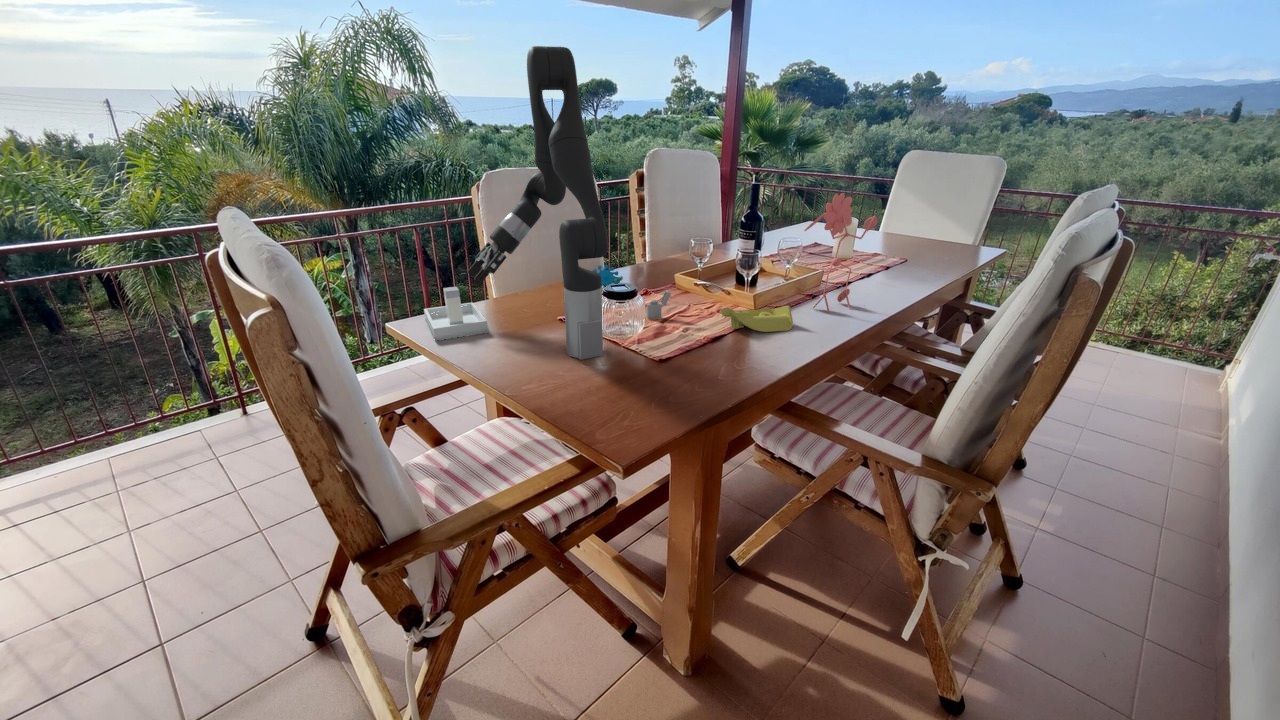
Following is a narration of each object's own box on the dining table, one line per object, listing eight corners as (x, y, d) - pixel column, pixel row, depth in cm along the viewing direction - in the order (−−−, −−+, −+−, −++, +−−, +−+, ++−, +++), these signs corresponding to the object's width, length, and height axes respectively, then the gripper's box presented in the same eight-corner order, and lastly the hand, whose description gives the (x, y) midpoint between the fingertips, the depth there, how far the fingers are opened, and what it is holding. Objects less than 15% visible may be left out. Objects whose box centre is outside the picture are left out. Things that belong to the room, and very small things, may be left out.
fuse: (463, 324, 154) (459, 289, 150) (450, 326, 152) (445, 291, 148) (460, 320, 157) (456, 286, 153) (447, 322, 155) (443, 288, 151)
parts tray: (488, 332, 151) (486, 320, 149) (435, 341, 145) (433, 328, 143) (474, 313, 165) (472, 302, 164) (425, 320, 159) (423, 308, 158)
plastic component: (771, 309, 165) (792, 304, 156) (774, 333, 165) (794, 330, 155) (714, 311, 158) (731, 306, 149) (716, 336, 158) (733, 333, 148)
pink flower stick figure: (870, 305, 176) (889, 193, 162) (811, 318, 165) (826, 198, 151) (834, 294, 189) (849, 188, 175) (777, 304, 177) (788, 193, 164)
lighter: (648, 318, 163) (648, 293, 159) (646, 317, 164) (647, 291, 161) (670, 317, 164) (671, 291, 161) (668, 315, 166) (669, 289, 163)
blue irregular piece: (590, 287, 186) (592, 262, 190) (589, 295, 192) (590, 270, 195) (622, 290, 188) (623, 265, 192) (620, 298, 194) (620, 274, 197)
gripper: (493, 220, 156) (457, 264, 156) (507, 228, 144) (468, 275, 144) (513, 237, 160) (478, 280, 160) (528, 246, 149) (490, 292, 148)
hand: (473, 278), depth 152 cm, fingers open, 8 cm apart
